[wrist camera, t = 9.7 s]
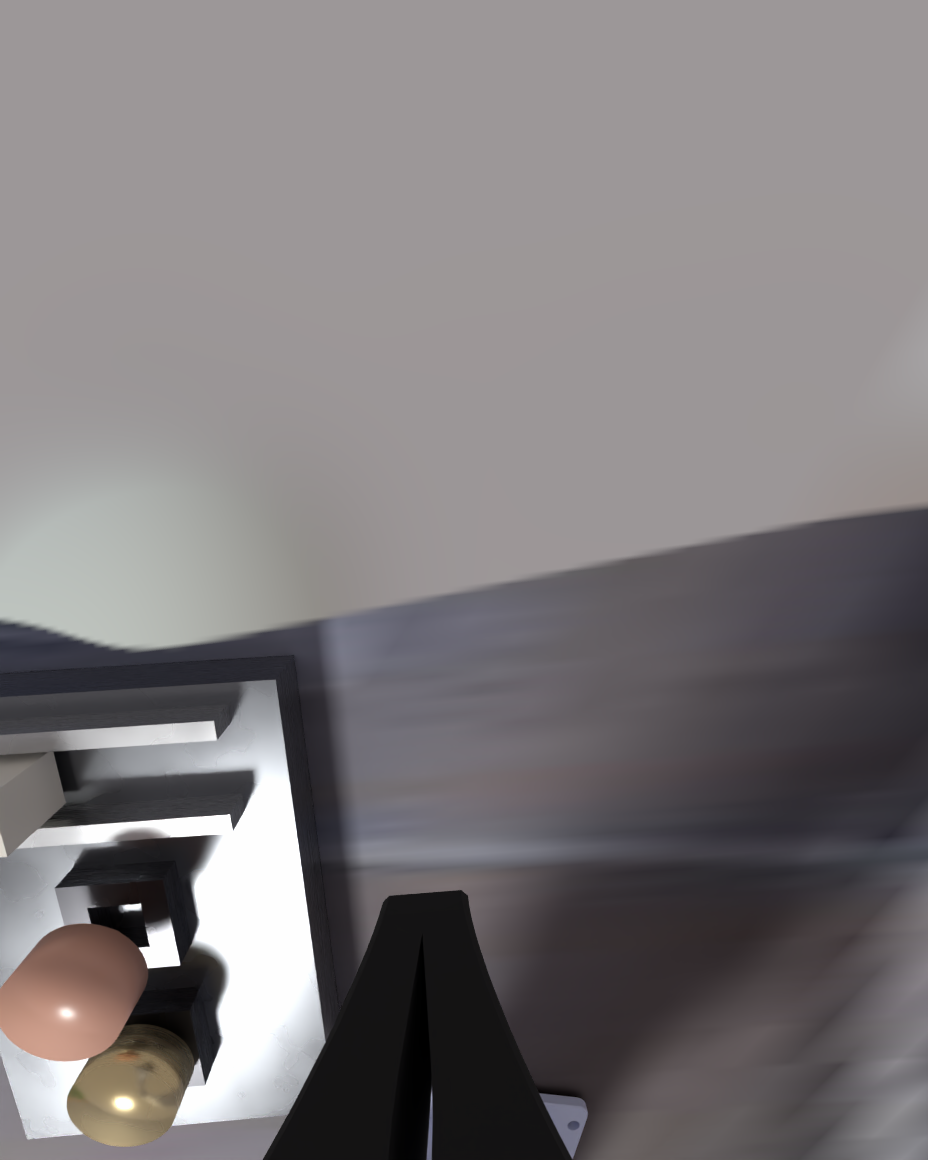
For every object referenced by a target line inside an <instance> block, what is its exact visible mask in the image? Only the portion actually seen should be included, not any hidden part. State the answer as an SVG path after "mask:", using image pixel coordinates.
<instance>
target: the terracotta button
mask: <svg viewBox="0 0 928 1160" xmlns="http://www.w3.org/2000/svg"><path fill="white" fill-rule="evenodd" d="M147 980H148V968H147V963H146V960H145V958H144V956H143V954H142V952H141V951H140V949H139V948H138V947H137V946H136V945H135V943H133V942H132V941H131V940H130V939H129V938H127V937H126V936H125V935H123V934H122V933H120V932H119V931H117V930H115V929H111V928H108V927H105V926H101V925H96V924H87V923H81V924H71V925H66V926H63V927H60V928H57V929H55V930H53V931H51V932H50V933H48V934H47V935H45V936H44V937H43V938H42V939H41V940H40V941H39V942H38V943H37V944H36V946H35V947H34V948H33V949H32V950H31V952H30V953H29V954H28V955H27V956H26V958H25V959H24V960H23V961H22V962H21V964H20V965H19V966H18V967H17V968H16V970H15V971H14V972H13V973H12V974H11V976H10V977H9V978H8V979H7V980H6V982H5V983H4V984H3V986H2V987H1V988H0V1028H1V1030H2V1031H3V1033H4V1034H5V1035H6V1037H7V1038H8V1039H9V1040H10V1041H11V1042H12V1043H14V1044H15V1045H16V1046H17V1047H19V1048H20V1049H22V1050H24V1051H25V1052H27V1053H30V1054H32V1055H34V1056H37V1057H40V1058H43V1059H47V1060H53V1061H63V1062H67V1061H78V1060H83V1059H88V1058H90V1057H93V1056H96V1055H98V1054H100V1053H102V1052H103V1051H105V1050H106V1049H108V1048H109V1047H110V1046H111V1045H112V1044H113V1043H114V1042H115V1040H116V1039H117V1038H118V1036H119V1034H120V1032H121V1031H122V1029H123V1027H124V1025H125V1023H126V1022H127V1020H128V1018H129V1016H130V1014H131V1013H132V1011H133V1009H134V1007H135V1005H136V1004H137V1002H138V1000H139V998H140V996H141V995H142V993H143V991H144V989H145V987H146V984H147Z"/></svg>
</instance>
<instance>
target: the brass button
mask: <svg viewBox="0 0 928 1160" xmlns="http://www.w3.org/2000/svg"><path fill="white" fill-rule="evenodd" d="M193 1071H194V1058H193V1055H192V1052H191V1050H190V1048H189V1047H188V1045H187V1044H186V1043H185V1042H184V1041H183V1040H182V1039H181V1038H180V1037H179V1036H177V1035H176V1034H174V1033H173V1032H171V1031H169V1030H167V1029H164V1028H161V1027H158V1026H154V1025H148V1024H133V1025H127V1026H124V1027H123V1029H122V1031H121V1032H120V1034H119V1036H118V1038H117V1039H116V1040H115V1042H114V1043H113V1044H112V1045H111V1046H110V1047H109V1048H108V1049H106V1050H105V1051H103V1052H102V1053H100V1054H98V1055H96V1056H93V1057H90V1058H89V1059H88V1060H87V1062H86V1064H85V1065H84V1067H83V1069H82V1071H81V1072H80V1074H79V1076H78V1077H77V1079H76V1081H75V1083H74V1084H73V1086H72V1088H71V1089H70V1091H69V1094H68V1096H67V1112H68V1115H69V1117H70V1119H71V1121H72V1123H73V1124H74V1125H75V1126H76V1128H78V1129H79V1130H80V1131H81V1132H82V1133H83V1134H85V1135H86V1136H88V1137H89V1138H91V1139H93V1140H95V1141H97V1142H100V1143H103V1144H107V1145H112V1146H121V1147H129V1146H138V1145H142V1144H146V1143H149V1142H151V1141H153V1140H156V1139H157V1138H159V1137H160V1136H162V1135H163V1134H164V1133H165V1132H167V1130H168V1129H169V1128H170V1127H171V1125H172V1124H173V1122H174V1119H175V1117H176V1114H177V1112H178V1109H179V1107H180V1104H181V1102H182V1100H183V1097H184V1095H185V1092H186V1090H187V1087H188V1085H189V1082H190V1080H191V1077H192V1075H193Z"/></svg>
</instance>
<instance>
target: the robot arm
mask: <svg viewBox="0 0 928 1160" xmlns="http://www.w3.org/2000/svg"><path fill="white" fill-rule="evenodd" d="M587 1117H588V1111H587V1107H586V1103H585V1101H584V1100H582V1099H581V1098H578V1097H570V1096H561V1095H552V1094H543V1093H539V1092H538V1090H537V1088H536V1086H535V1083H534V1081H533V1079H532V1077H531V1075H530V1073H529V1070H528V1068H527V1066H526V1064H525V1062H524V1060H523V1057H522V1055H521V1053H520V1051H519V1049H518V1046H517V1044H516V1042H515V1039H514V1037H513V1035H512V1032H511V1030H510V1028H509V1025H508V1023H507V1020H506V1018H505V1015H504V1013H503V1010H502V1008H501V1005H500V1003H499V1000H498V998H497V995H496V992H495V990H494V987H493V985H492V982H491V979H490V977H489V974H488V971H487V968H486V965H485V962H484V959H483V956H482V953H481V950H480V947H479V944H478V940H477V937H476V933H475V930H474V926H473V922H472V918H471V913H470V908H469V901H468V895H466V894H465V893H464V892H463V891H462V890H458V891H445V892H432V893H420V894H407V895H394V896H389V897H388V898H387V899H386V900H385V901H384V902H383V905H382V908H381V911H380V915H379V918H378V921H377V923H376V926H375V929H374V932H373V935H372V937H371V940H370V943H369V945H368V948H367V950H366V953H365V955H364V958H363V960H362V963H361V965H360V967H359V970H358V972H357V975H356V977H355V979H354V982H353V984H352V986H351V988H350V990H349V993H348V995H347V997H346V999H345V1001H344V1004H343V1006H342V1008H341V1010H340V1012H339V1015H338V1017H337V1019H336V1021H335V1023H334V1026H333V1028H332V1030H331V1032H330V1034H329V1036H328V1038H327V1040H326V1042H325V1044H324V1046H323V1048H322V1050H321V1052H320V1054H319V1056H318V1058H317V1060H316V1062H315V1064H314V1066H313V1068H312V1069H311V1071H310V1073H309V1075H308V1077H307V1079H306V1081H305V1083H304V1085H303V1087H302V1089H301V1091H300V1093H299V1095H298V1097H297V1099H296V1101H295V1103H294V1104H293V1106H292V1108H291V1110H290V1112H289V1114H288V1116H287V1117H286V1119H285V1121H284V1123H283V1125H282V1126H281V1128H280V1130H279V1132H278V1134H277V1135H276V1137H275V1139H274V1141H273V1143H272V1144H271V1146H270V1148H269V1150H268V1151H267V1153H266V1155H265V1157H264V1158H263V1160H573V1157H574V1154H575V1151H576V1149H577V1146H578V1143H579V1140H580V1137H581V1134H582V1131H583V1128H584V1126H585V1123H586V1120H587Z"/></svg>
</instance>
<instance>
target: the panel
mask: <svg viewBox="0 0 928 1160" xmlns="http://www.w3.org/2000/svg"><path fill="white" fill-rule="evenodd" d="M38 752H54V756H55V760H56V765H57V769H58V773H59V777H60V781H61V785H62V789H63V793H64V797H65V801H66V804H65V805H63V806H62V807H61V808H60V809H59V810H58V811H57V812H56V813H55V814H54V815H52V816H51V817H50V818H49V819H48V820H47V821H46V822H45V823H44V824H43V825H42V826H40V827H39V828H38V829H37V830H36V831H35V832H34V833H33V834H32V835H31V836H30V837H28V838H27V839H26V840H25V841H24V842H23V843H22V844H21V845H20V846H19V847H18V848H16V849H15V850H14V851H13V852H12V853H11V854H10V855H9V856H8V857H0V988H1V987H2V986H3V984H4V983H5V982H6V980H7V979H8V978H9V977H10V976H11V974H12V973H13V972H14V971H15V970H16V968H17V967H18V966H19V965H20V964H21V962H22V961H23V960H24V959H25V958H26V956H27V955H28V954H29V953H30V952H31V950H32V949H33V948H34V947H35V946H36V944H37V943H38V942H39V941H40V940H41V939H42V938H43V937H44V936H45V935H47V934H48V933H50V932H51V931H53V930H55V929H57V928H60V927H63V926H66V925H71V924H81V923H87V924H96V925H101V926H105V927H108V928H111V929H115V930H117V931H119V932H120V933H122V934H123V935H125V936H126V937H127V938H129V939H130V940H131V941H132V942H133V943H135V945H136V946H137V947H138V948H139V949H140V951H141V952H142V954H143V956H144V958H145V960H146V963H147V968H148V980H147V984H146V987H145V989H144V991H143V993H142V995H141V996H140V998H139V1000H138V1002H137V1004H136V1005H135V1007H134V1009H133V1011H132V1013H131V1014H130V1016H129V1018H128V1020H127V1022H126V1023H125V1025H124V1026H127V1025H133V1024H148V1025H154V1026H158V1027H161V1028H164V1029H167V1030H169V1031H171V1032H173V1033H174V1034H176V1035H177V1036H179V1037H180V1038H181V1039H182V1040H183V1041H184V1042H185V1043H186V1044H187V1045H188V1047H189V1048H190V1050H191V1052H192V1055H193V1058H194V1071H193V1075H192V1077H191V1080H190V1082H189V1085H188V1087H187V1090H186V1092H185V1095H184V1097H183V1100H182V1102H181V1104H180V1107H179V1109H178V1112H177V1114H176V1117H175V1119H174V1122H173V1124H172V1125H171V1126H175V1125H186V1124H196V1123H207V1122H218V1121H228V1120H239V1119H250V1118H261V1117H271V1116H282V1115H288V1114H289V1112H290V1110H291V1108H292V1106H293V1104H294V1103H295V1101H296V1099H297V1097H298V1095H299V1093H300V1091H301V1089H302V1087H303V1085H304V1083H305V1081H306V1079H307V1077H308V1075H309V1073H310V1071H311V1069H312V1068H313V1066H314V1064H315V1062H316V1060H317V1058H318V1056H319V1054H320V1052H321V1050H322V1048H323V1046H324V1044H325V1042H326V1040H327V1038H328V1036H329V1034H330V1032H331V1030H332V1028H333V1026H334V1023H335V1021H336V1019H337V1017H338V1015H339V1005H338V997H337V990H336V982H335V974H334V966H333V958H332V951H331V943H330V935H329V927H328V919H327V911H326V904H325V896H324V888H323V880H322V872H321V864H320V857H319V849H318V841H317V833H316V825H315V817H314V810H313V802H312V794H311V786H310V778H309V771H308V763H307V755H306V747H305V739H304V731H303V724H302V716H301V708H300V700H299V692H298V684H297V677H296V669H295V661H294V655H292V656H276V657H260V658H244V659H228V660H212V661H196V662H180V663H164V664H148V665H132V666H116V667H100V668H84V669H68V670H52V671H36V672H20V673H4V674H0V755H9V754H24V753H38ZM0 1054H1V1057H2V1060H3V1063H4V1066H5V1069H6V1073H7V1076H8V1079H9V1082H10V1085H11V1088H12V1092H13V1095H14V1098H15V1101H16V1104H17V1107H18V1111H19V1114H20V1117H21V1120H22V1123H23V1127H24V1130H25V1133H26V1136H27V1139H35V1138H46V1137H57V1136H68V1135H78V1134H83V1133H82V1132H81V1131H80V1130H79V1129H78V1128H76V1126H75V1125H74V1124H73V1123H72V1121H71V1119H70V1117H69V1115H68V1112H67V1096H68V1094H69V1091H70V1089H71V1088H72V1086H73V1084H74V1083H75V1081H76V1079H77V1077H78V1076H79V1074H80V1072H81V1071H82V1069H83V1067H84V1065H85V1064H86V1062H87V1060H88V1059H89V1058H88V1059H83V1060H78V1061H67V1062H63V1061H53V1060H47V1059H43V1058H40V1057H37V1056H34V1055H32V1054H30V1053H27V1052H25V1051H24V1050H22V1049H20V1048H19V1047H17V1046H16V1045H15V1044H14V1043H12V1042H11V1041H10V1040H9V1039H8V1038H7V1037H6V1035H5V1034H4V1033H3V1031H2V1030H1V1028H0Z"/></svg>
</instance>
